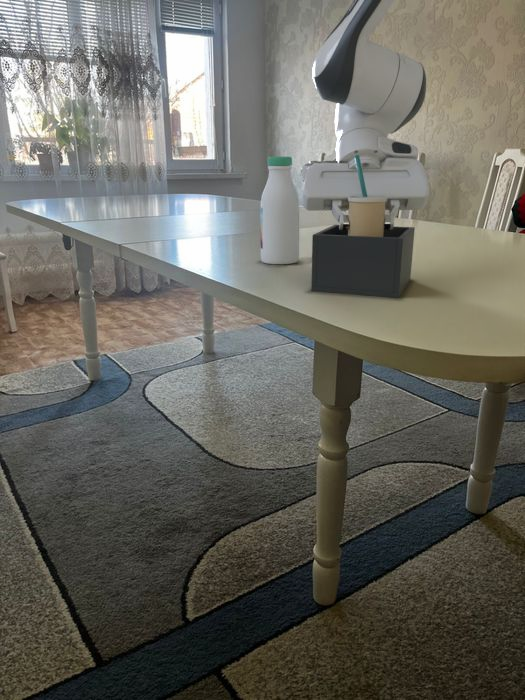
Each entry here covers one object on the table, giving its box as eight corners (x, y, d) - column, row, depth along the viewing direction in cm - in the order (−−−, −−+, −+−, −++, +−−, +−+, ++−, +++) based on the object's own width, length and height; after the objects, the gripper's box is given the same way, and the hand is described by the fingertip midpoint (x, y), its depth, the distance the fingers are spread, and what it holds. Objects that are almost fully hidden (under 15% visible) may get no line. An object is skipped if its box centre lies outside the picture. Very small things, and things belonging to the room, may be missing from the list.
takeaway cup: (385, 258, 89) (392, 154, 84) (379, 265, 84) (386, 154, 79) (350, 256, 92) (354, 154, 86) (341, 263, 86) (345, 154, 81)
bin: (410, 279, 93) (414, 227, 90) (398, 298, 81) (403, 238, 78) (333, 274, 98) (334, 224, 95) (311, 290, 86) (312, 234, 83)
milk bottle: (306, 261, 109) (308, 156, 103) (280, 266, 104) (280, 156, 97) (279, 256, 115) (279, 156, 108) (252, 261, 110) (251, 156, 103)
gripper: (301, 147, 89) (301, 214, 83) (427, 146, 88) (436, 214, 82) (300, 175, 95) (300, 239, 89) (419, 174, 94) (426, 239, 88)
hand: (366, 227), depth 85 cm, fingers closed on takeaway cup, 5 cm apart
